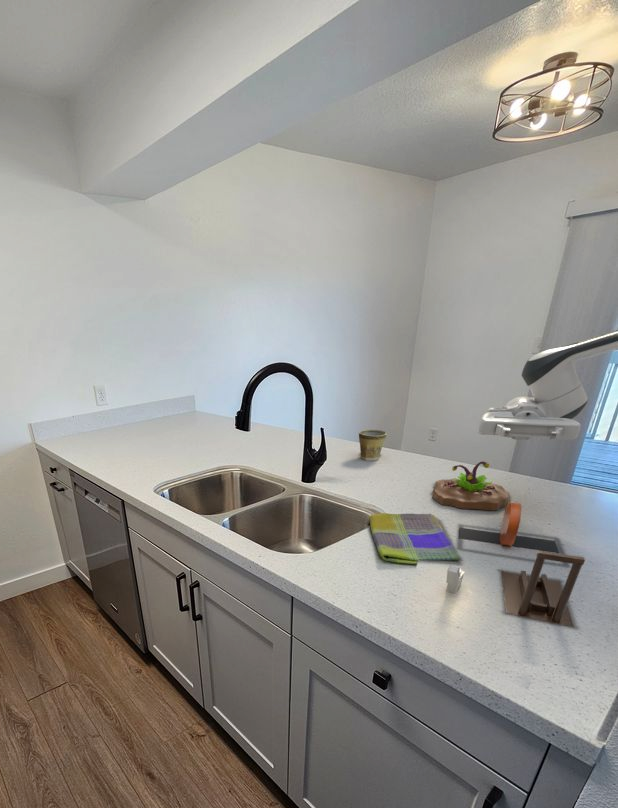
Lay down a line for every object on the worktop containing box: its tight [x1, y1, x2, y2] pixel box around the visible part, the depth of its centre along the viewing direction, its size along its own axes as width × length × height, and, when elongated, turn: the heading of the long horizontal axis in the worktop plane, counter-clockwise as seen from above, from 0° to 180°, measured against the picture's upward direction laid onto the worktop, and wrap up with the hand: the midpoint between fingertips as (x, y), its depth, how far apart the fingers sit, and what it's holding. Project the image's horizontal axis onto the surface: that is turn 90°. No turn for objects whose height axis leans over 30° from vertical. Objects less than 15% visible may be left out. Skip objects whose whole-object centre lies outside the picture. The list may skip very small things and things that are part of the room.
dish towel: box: [368, 512, 461, 565], centre depth 107 cm, size 18×24×3 cm
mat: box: [458, 527, 561, 554], centre depth 102 cm, size 20×14×1 cm
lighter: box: [445, 565, 465, 595], centre depth 85 cm, size 7×2×8 cm, turn 139°
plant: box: [432, 460, 510, 512], centre depth 127 cm, size 20×20×11 cm
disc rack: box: [500, 550, 586, 628], centre depth 80 cm, size 10×16×14 cm, turn 152°
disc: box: [499, 501, 522, 547], centre depth 101 cm, size 2×10×10 cm, turn 152°
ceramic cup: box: [358, 429, 388, 462], centre depth 168 cm, size 13×10×10 cm
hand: (529, 434), depth 100 cm, fingers open, 8 cm apart
